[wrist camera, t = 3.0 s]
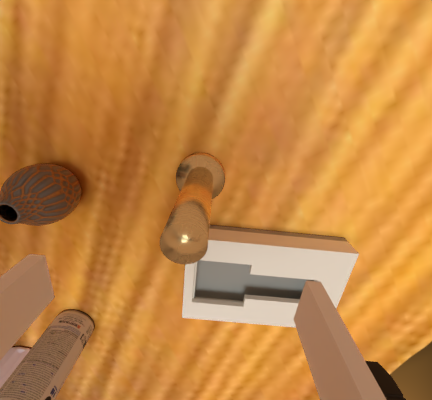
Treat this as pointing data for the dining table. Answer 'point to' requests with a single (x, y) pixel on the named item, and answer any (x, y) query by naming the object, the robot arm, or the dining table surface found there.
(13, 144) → the dining table surface
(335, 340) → the robot arm
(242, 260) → the board
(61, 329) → the spray can
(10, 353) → the soap bottle
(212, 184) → the peg
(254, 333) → the dining table surface
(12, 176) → the vase
